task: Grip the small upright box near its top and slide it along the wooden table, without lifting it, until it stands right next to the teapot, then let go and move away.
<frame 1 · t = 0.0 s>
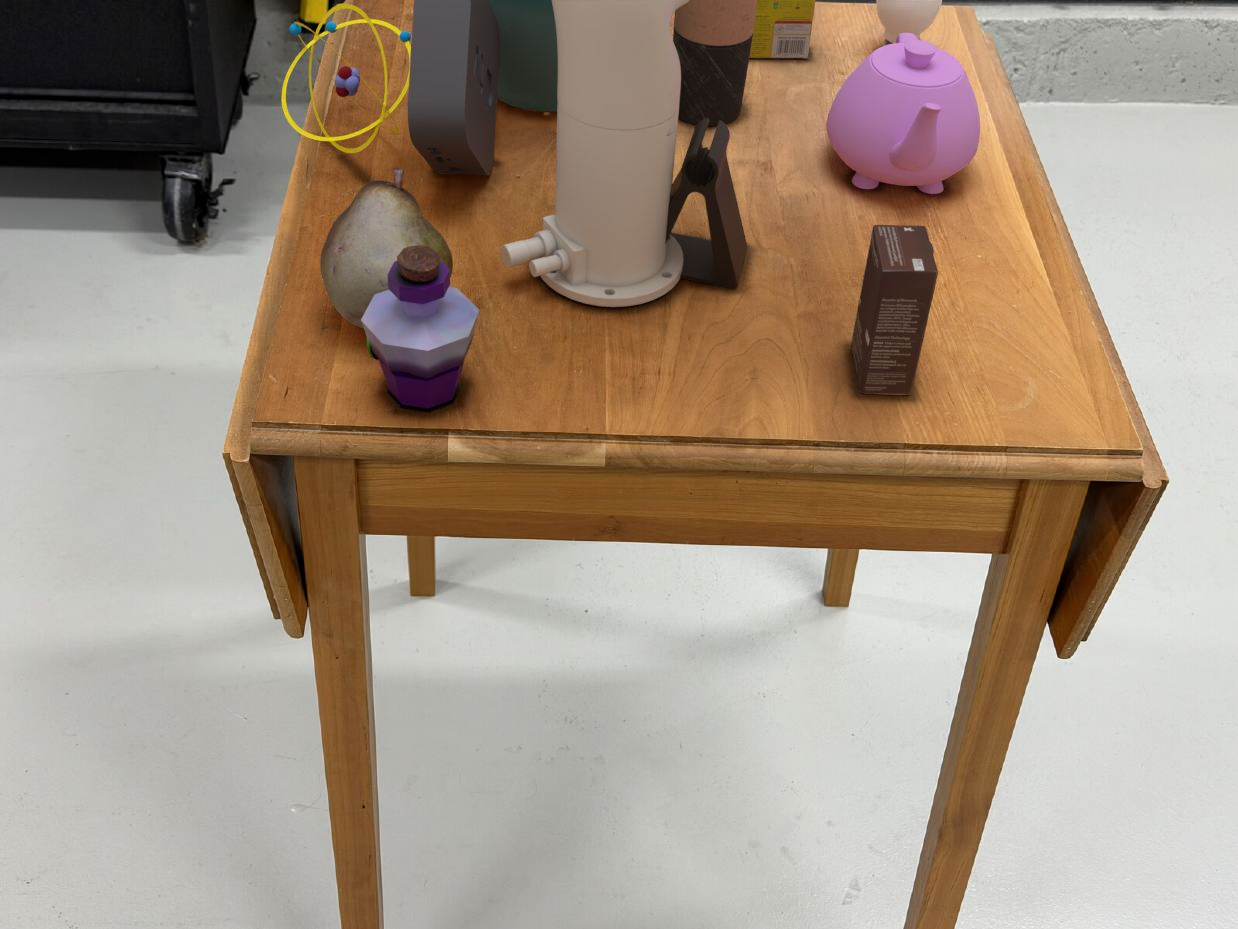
teapot: (895, 173, 133), on the table
potion bottle: (424, 390, 107), on the table
flower pot: (547, 87, 142), on the table
box: (877, 374, 111), on the table
fruit: (389, 317, 113), on the table
atom model: (361, 2, 123), point 14 cm above the table
light bulb: (897, 57, 151), on the table
streaming box: (423, 78, 123), point 9 cm above the table
travel mug: (705, 110, 140), on the table
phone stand: (690, 261, 121), on the table, touching arm
crayon box: (771, 54, 150), on the table
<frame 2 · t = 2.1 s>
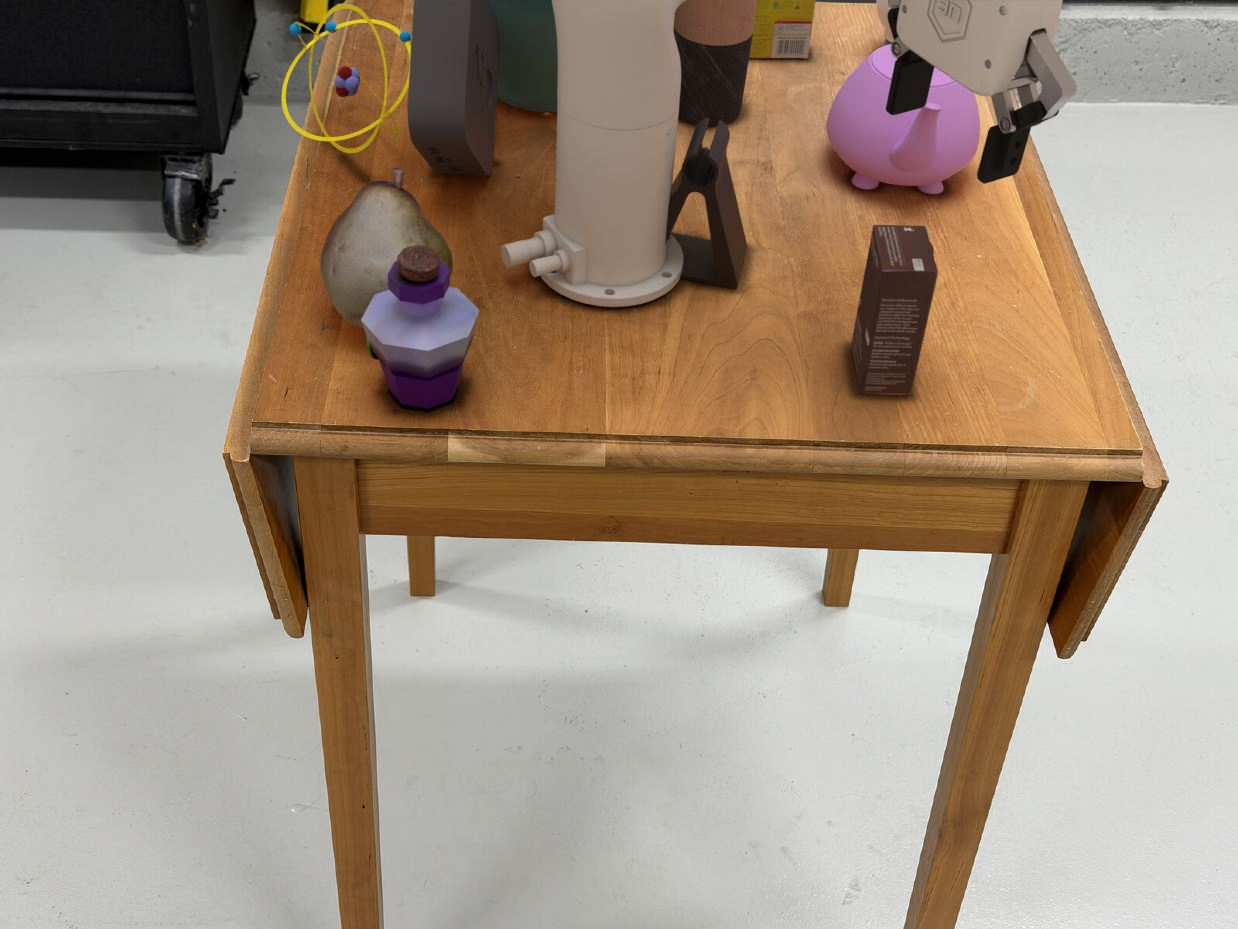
hand: (949, 142, 96), 21 cm above the table, tool pointing down, fingers open, 9 cm apart
atom model: (361, 2, 123), point 14 cm above the table, touching streaming box
streaming box: (423, 78, 123), point 9 cm above the table, touching atom model
everything else where it was.
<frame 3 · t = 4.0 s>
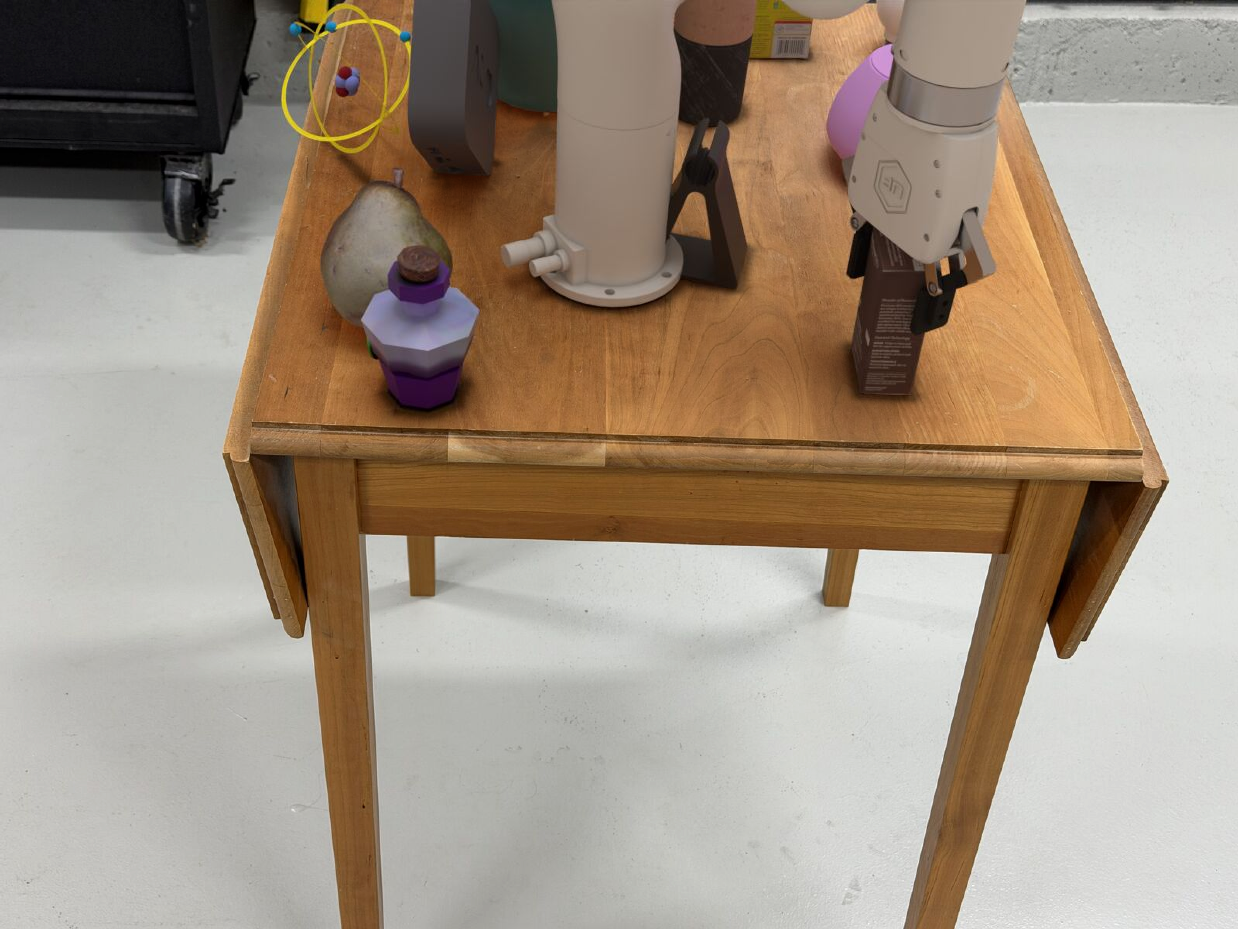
hand: (895, 298, 106), 7 cm above the table, tool pointing down, fingers closed on box, 7 cm apart
box: (877, 374, 111), on the table, touching gripper
everything else where it was.
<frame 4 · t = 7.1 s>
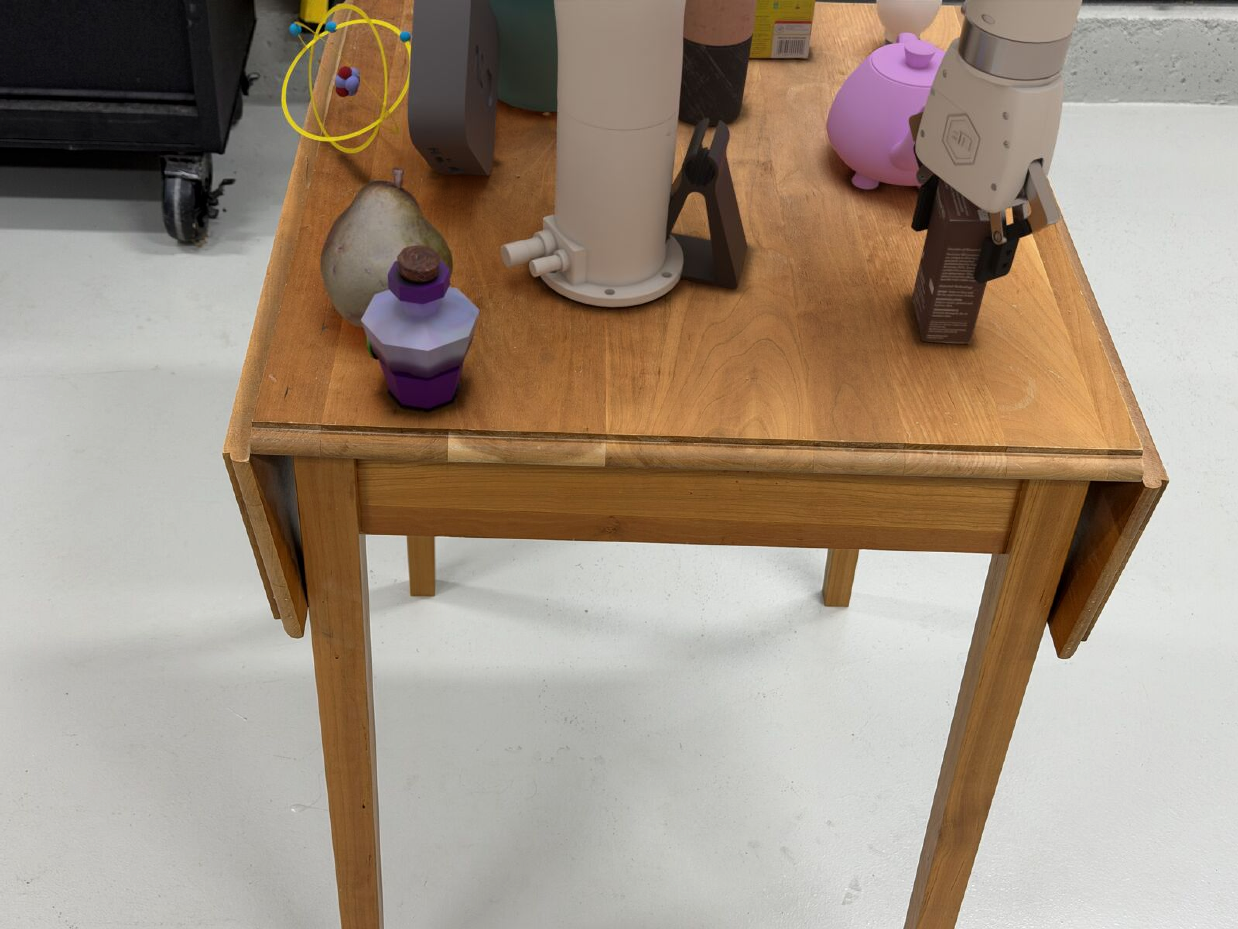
hand: (959, 250, 111), 7 cm above the table, tool pointing down, fingers closed on box, 7 cm apart
box: (938, 324, 116), on the table, touching gripper
everything else where it was.
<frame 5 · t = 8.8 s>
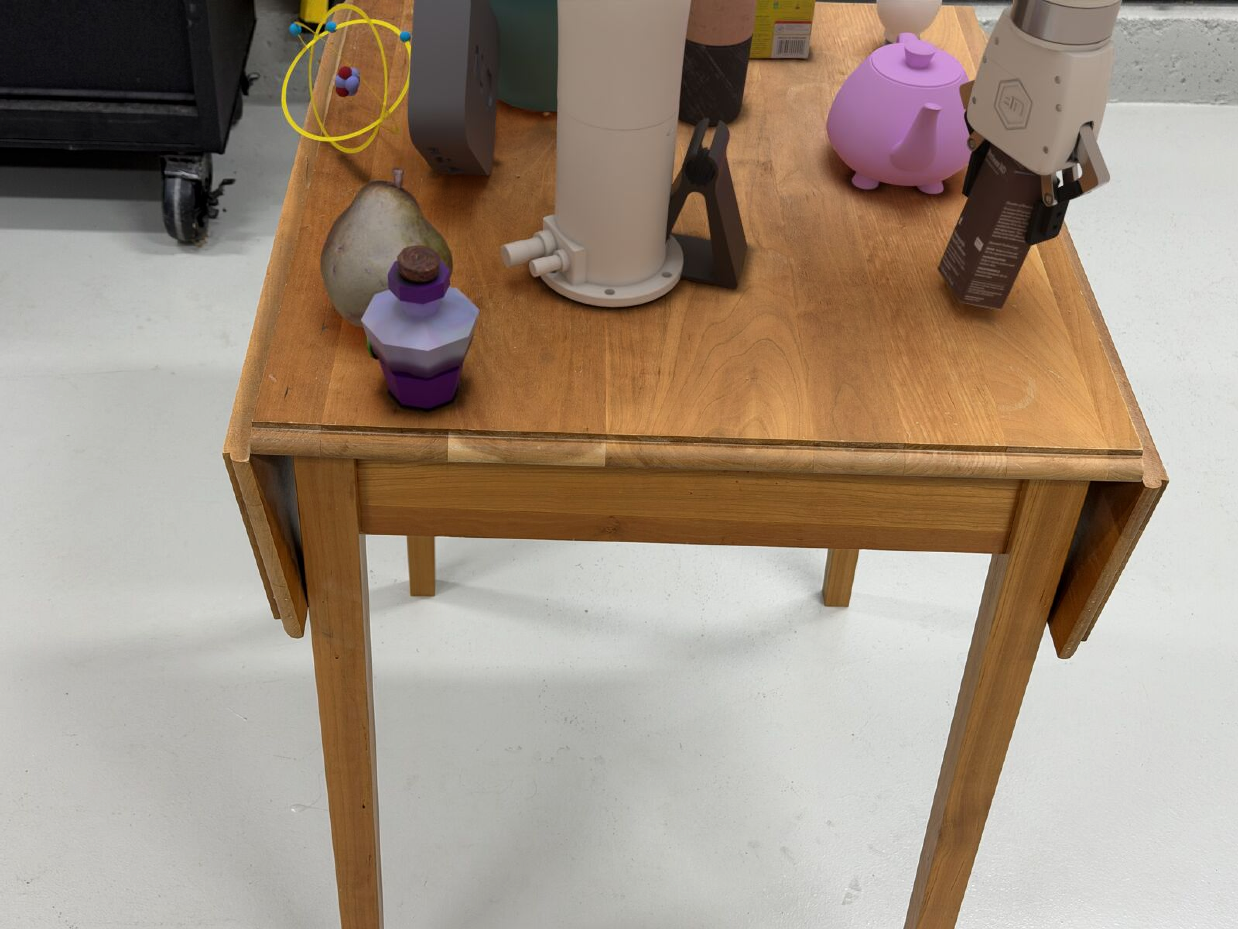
hand: (1009, 214, 115), 8 cm above the table, tool pointing down, fingers closed on box, 7 cm apart
box: (966, 293, 118), point 1 cm above the table, touching gripper
atom model: (361, 2, 123), point 14 cm above the table
streaming box: (423, 78, 123), point 9 cm above the table
everything else where it was.
when the fingers open (7 cm above the table, at t = 10.3 s): box stays where it is, point 1 cm above the table.
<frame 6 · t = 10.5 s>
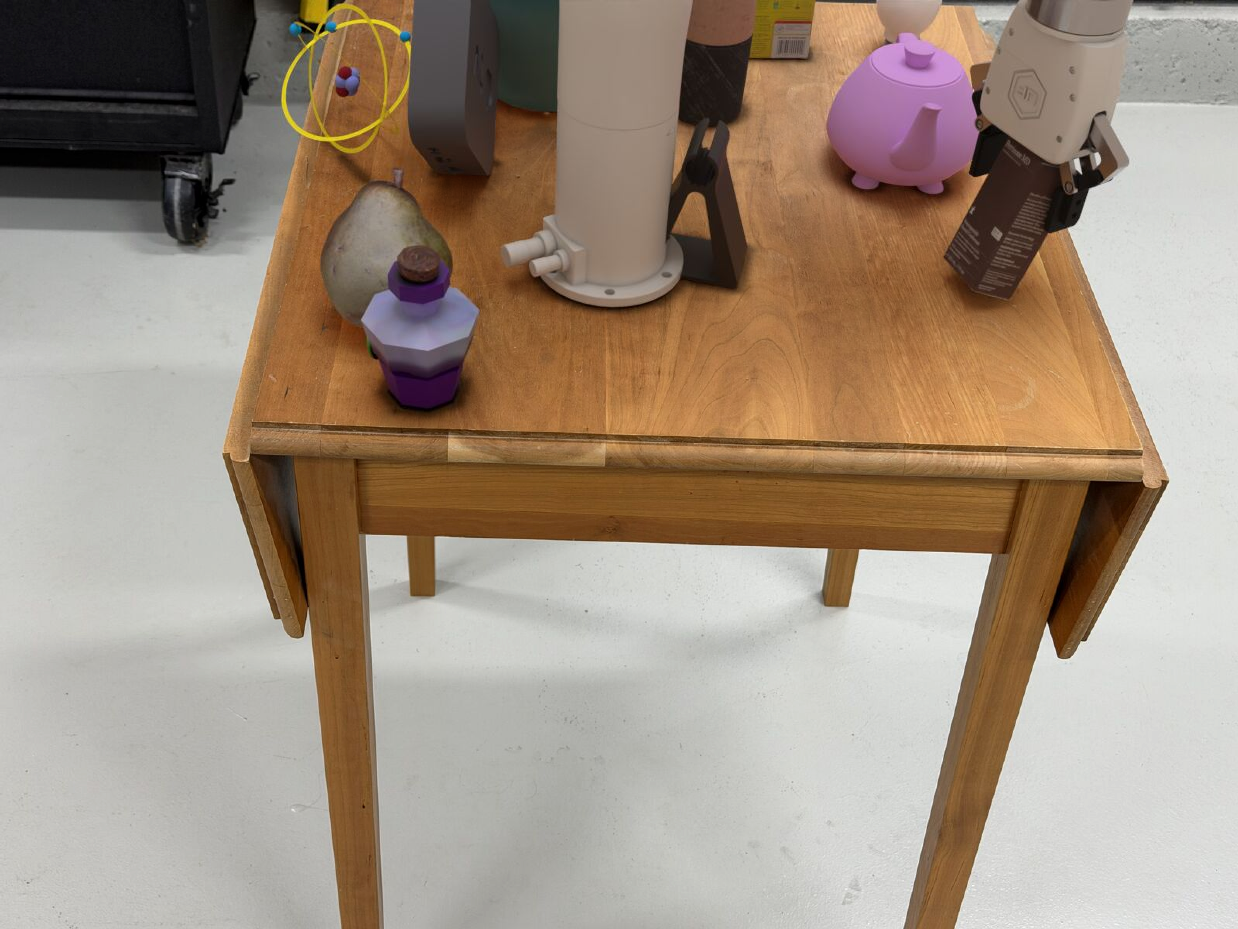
hand: (1021, 199, 117), 8 cm above the table, tool pointing down, fingers open, 8 cm apart
box: (972, 282, 119), point 1 cm above the table, touching gripper
everything else where it was.
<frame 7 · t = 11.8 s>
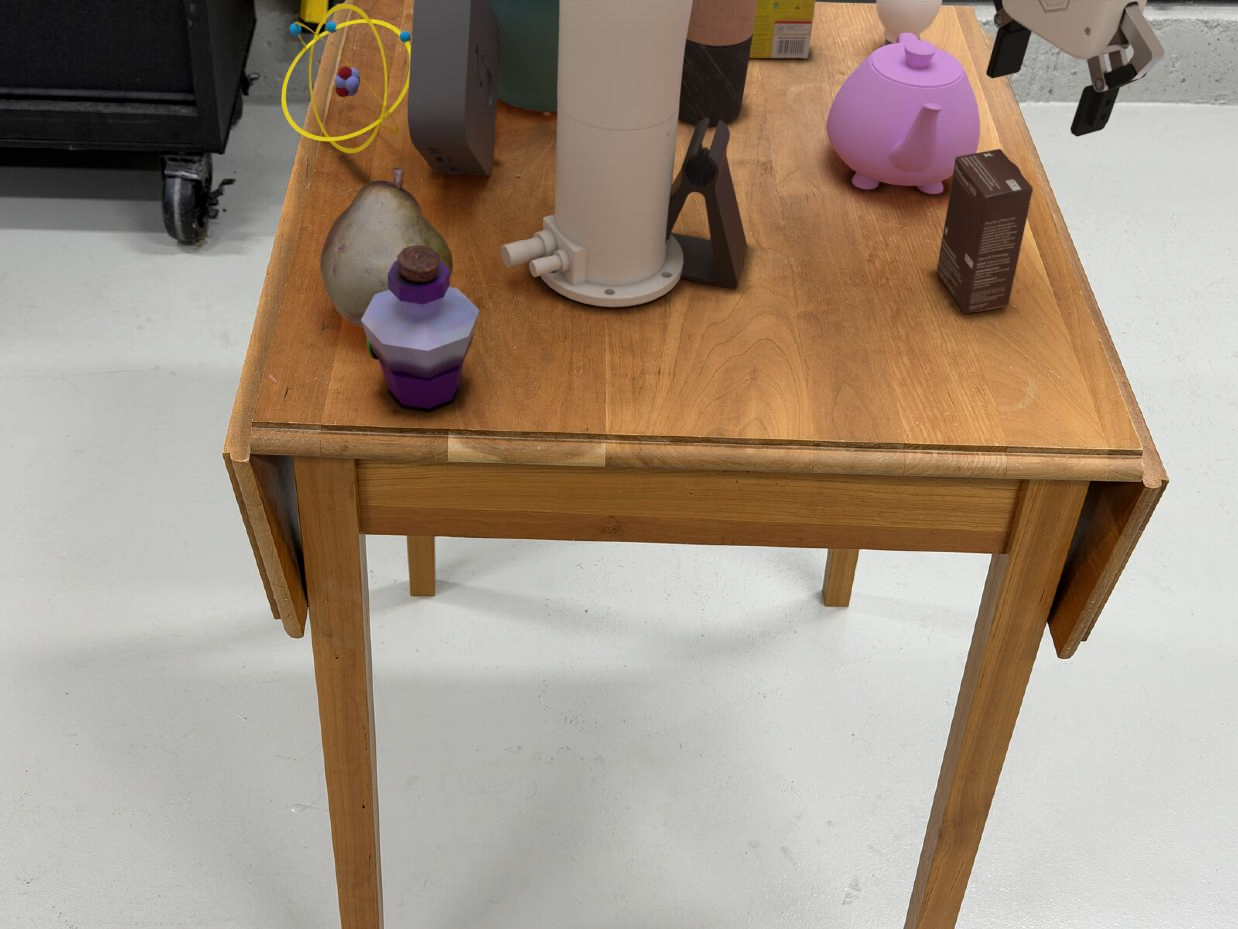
hand: (1043, 101, 111), 16 cm above the table, tool pointing down, fingers open, 9 cm apart
box: (970, 293, 120), on the table
atom model: (361, 2, 123), point 14 cm above the table, touching streaming box
streaming box: (423, 78, 123), point 9 cm above the table, touching atom model
everything else where it was.
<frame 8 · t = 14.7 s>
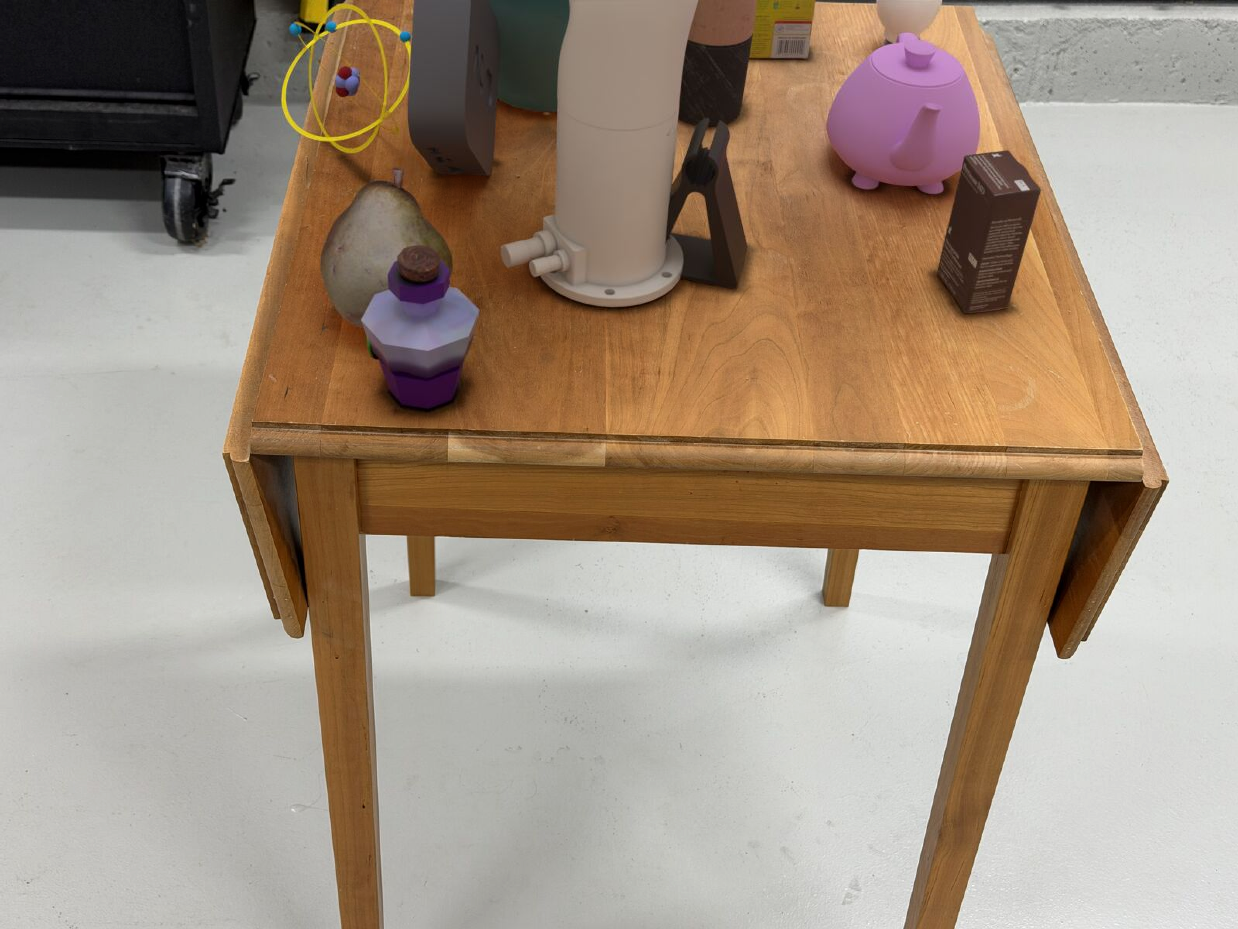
nothing on the table moved.
at the end: box 19.3 cm from the teapot (horizontally); box inside the target area (4.5 cm from its centre), on the table; box tilted 0° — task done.
